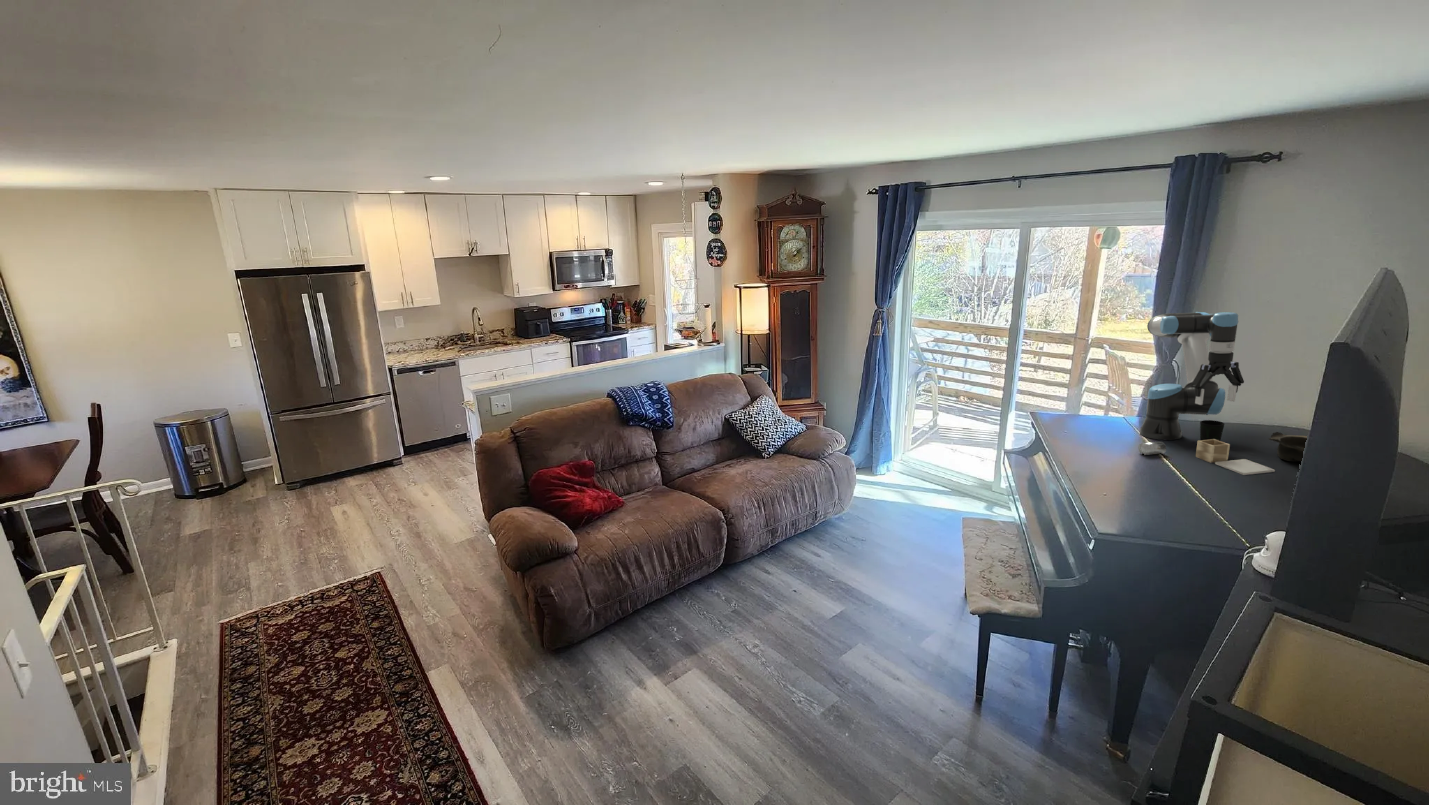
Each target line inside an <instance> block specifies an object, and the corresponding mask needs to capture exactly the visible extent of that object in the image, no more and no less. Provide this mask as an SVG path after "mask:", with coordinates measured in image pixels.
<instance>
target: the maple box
mask: <svg viewBox="0 0 1429 805" xmlns="http://www.w3.org/2000/svg"><path fill="white" fill-rule="evenodd" d="M1196 444H1197V445H1196V451H1195V457H1196V458H1198V459H1200V460H1202V461H1205V462H1207V463H1211V464H1212V463H1215V462H1221V461H1229V455H1230V454H1229V453H1230V447H1231V444H1230V443H1226V442H1224V441H1221V440H1220V441H1219V440H1216V439H1210V440H1200V439H1199V440H1197V442H1196Z"/></svg>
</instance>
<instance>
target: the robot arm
mask: <svg viewBox="0 0 1429 805" xmlns="http://www.w3.org/2000/svg"><path fill="white" fill-rule="evenodd" d="M1238 324H1239V315H1238V313H1236V312H1232V311H1231V312H1228V311H1225V312H1216V313H1208V312H1201V311H1195V312H1174V313H1173V312H1170V313H1169V312H1167V313H1162V314H1159V315H1156V316H1153V317H1152V318H1151V319H1149V321H1148V323H1147V326H1146V327H1147V330H1148V332H1149V333H1150V334H1151V335H1153V336H1155V337H1159V338H1166V339H1168V338H1171V339H1172V338H1173V339H1174V338H1177V342H1178V343H1179V344H1181V345H1182V351H1183V358H1184V365H1185V366H1184V367H1185V374H1186V379H1187V380H1186V381H1187V383H1186V384H1185V385H1184V387H1183V386H1182V385H1181V384H1179V383H1161V384H1156V385H1152V386H1151V387H1150V388H1149V390H1148V392H1147V397H1146V398H1147V402H1146V403H1147V404H1146V414H1145V419H1144V421H1143V423H1142V425H1141V427H1140V428H1139V434H1140V436H1142V437H1145V438H1149V439H1152V440H1161V441H1162V440H1164V441H1174V440H1175V441H1176V440H1178V439H1179V440H1180V439H1181V438H1182V436H1183V434H1182V433H1183V432H1182V428H1181V425H1180V422H1179V418H1180V417H1179V415H1202V416H1203V415H1204V416H1211V415H1212V416H1213V415H1214V416H1216V415H1219V414H1220V413H1221V412H1222V410H1223V407H1224V406H1225V405H1224V404H1225V400H1227V401H1229V402H1236V396H1237V393H1238V391H1239V390H1238V389H1239V387H1241V386H1242V384H1244V383H1245V380H1244V378H1243V375H1242V372H1241V370H1240V365H1239V364H1240V363H1239V362H1237V361H1234V350H1235V343H1236V338H1237V330H1238ZM1209 339H1210V341H1209V348H1208V344H1207V343H1208V342H1207V341H1208V340H1209ZM1208 349H1209V350H1208ZM1218 375H1224V376H1225V378H1226V379H1227V380H1228V382H1229V383H1230V384H1229V385H1228V390H1227V399H1226V390H1225V389H1224V388H1221V387H1219V384H1218V382H1216V381H1214V380H1213V377H1216V376H1218Z"/></svg>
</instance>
